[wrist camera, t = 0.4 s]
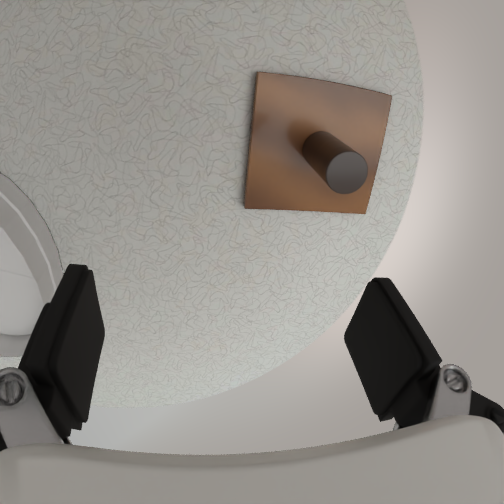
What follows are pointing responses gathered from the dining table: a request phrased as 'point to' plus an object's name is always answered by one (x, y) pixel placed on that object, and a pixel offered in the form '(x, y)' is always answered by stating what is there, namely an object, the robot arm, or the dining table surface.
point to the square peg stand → (313, 144)
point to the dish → (23, 268)
